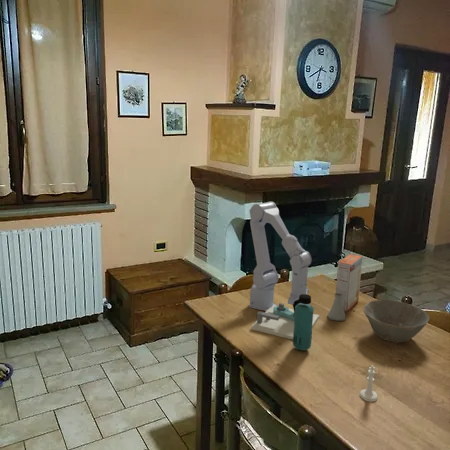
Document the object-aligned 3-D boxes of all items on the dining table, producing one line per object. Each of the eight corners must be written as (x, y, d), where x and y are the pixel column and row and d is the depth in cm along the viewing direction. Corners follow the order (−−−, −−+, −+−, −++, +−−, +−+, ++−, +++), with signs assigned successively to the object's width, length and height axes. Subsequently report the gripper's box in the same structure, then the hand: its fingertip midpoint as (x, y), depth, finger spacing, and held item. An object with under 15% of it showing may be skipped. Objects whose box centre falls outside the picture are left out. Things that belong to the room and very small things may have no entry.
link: (270, 312, 177) (270, 308, 177) (280, 308, 181) (280, 304, 181) (303, 327, 165) (303, 324, 164) (313, 323, 169) (313, 319, 168)
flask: (344, 314, 181) (346, 291, 178) (347, 322, 174) (349, 298, 171) (326, 312, 181) (328, 290, 179) (328, 320, 174) (330, 297, 172)
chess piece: (357, 391, 130) (360, 361, 128) (373, 390, 131) (377, 360, 128) (363, 402, 126) (367, 370, 123) (380, 401, 126) (384, 370, 123)
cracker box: (345, 297, 196) (349, 253, 191) (358, 301, 193) (363, 255, 188) (333, 308, 185) (337, 261, 180) (347, 312, 182) (351, 264, 177)
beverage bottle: (312, 346, 155) (316, 293, 150) (309, 356, 149) (313, 300, 144) (293, 343, 157) (297, 290, 152) (290, 352, 151) (293, 297, 146)
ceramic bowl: (426, 330, 169) (429, 306, 166) (424, 359, 148) (428, 332, 146) (365, 318, 177) (368, 295, 175) (356, 344, 157) (359, 318, 155)
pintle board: (251, 329, 166) (251, 316, 165) (272, 307, 185) (272, 295, 184) (302, 342, 157) (303, 328, 156) (319, 317, 177) (320, 305, 175)
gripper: (300, 291, 162) (298, 324, 165) (316, 279, 173) (314, 311, 177) (283, 286, 166) (281, 319, 169) (300, 275, 177) (298, 306, 181)
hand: (297, 315), depth 173 cm, fingers closed, pressing on link
